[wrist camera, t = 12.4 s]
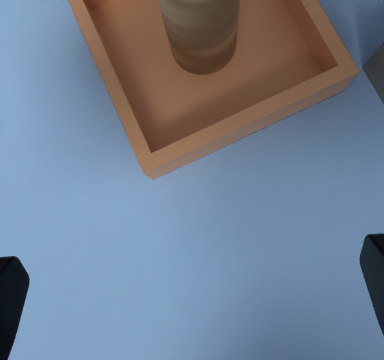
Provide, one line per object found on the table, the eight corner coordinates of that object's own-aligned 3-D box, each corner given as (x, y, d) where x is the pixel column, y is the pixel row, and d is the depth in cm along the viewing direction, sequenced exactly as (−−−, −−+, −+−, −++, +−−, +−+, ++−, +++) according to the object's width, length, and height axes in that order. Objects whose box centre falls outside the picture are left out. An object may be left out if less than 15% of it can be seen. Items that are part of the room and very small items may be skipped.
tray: (343, 90, 20) (360, 71, 18) (153, 179, 20) (143, 172, 18) (250, -71, 22) (253, -109, 20) (78, 11, 23) (61, -16, 20)
